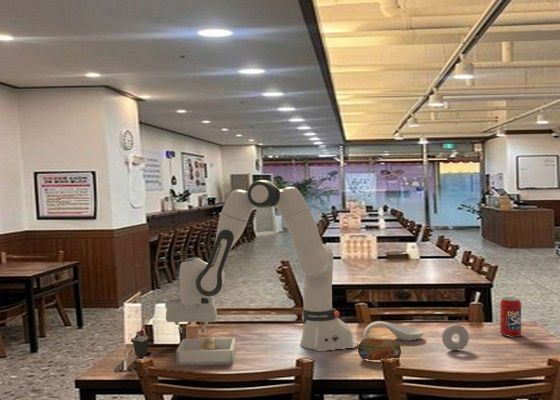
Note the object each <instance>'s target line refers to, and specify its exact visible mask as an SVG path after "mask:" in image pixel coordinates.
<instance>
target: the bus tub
mask: <svg viewBox="0 0 560 400" xmlns="http://www.w3.org/2000/svg"><path fill="white" fill-rule="evenodd" d="M215 338H216V350H201V339H202V337H201V338H200V337H199V338H195V339H186V338H182V340H181V342H180V344H179V346H178V347H177V349H176V350H175V361H176V362H175V363H176V365H175V366H176V367H177V366H179V367H181V366H211V365H212V366H215V365H217V366H219V365H222V366H223V365H234V360H235V356H236V353H237V352H236V351H237V345H236V343H237V340H236V337H215Z"/></svg>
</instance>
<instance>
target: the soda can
mask: <svg viewBox="0 0 560 400" xmlns="http://www.w3.org/2000/svg"><path fill="white" fill-rule="evenodd" d="M499 306H500V307H499V310H500V311H499V314H500V319H499V321H500V323H499V324H500V325H499V328H500V334H501V333H502V334H501V335H503V334H505V335H509V336H518V335H520V336H521V335H522V302H521V301H520V298H519V297H514V296H503V297H502V298H501V301H500V302H499ZM518 337H519V336H518Z"/></svg>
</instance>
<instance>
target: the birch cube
mask: <svg viewBox="0 0 560 400" xmlns="http://www.w3.org/2000/svg"><path fill="white" fill-rule="evenodd" d="M201 338H202V339H201V350H216V338H217V337H216V336H202V337H201Z"/></svg>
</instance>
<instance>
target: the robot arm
mask: <svg viewBox="0 0 560 400" xmlns="http://www.w3.org/2000/svg"><path fill="white" fill-rule="evenodd" d="M223 204H224V205H223V207H222V210H221V211H220V215H219V218H218V223H217V229H216V235H215V240H214V245H213V246H212V247H213V248H212V249H211V250H212V251H211V253H210V256H209V258H208V260H207V262H206V261H204V260H203V259H201V258H200V257H197V256H196V257H188V258H186V259H184V260H182V262H181V263H180V265H179V283H180V288H179V297H178V298H177V297H175V298H168V299H166V301H165V302H164V305H165V309H166V312H165V320H166V322H167V323H174V325H175V324H176V325H179V324H180V323H188V322H189V323H195V322H196V323H198V322H199V323H200V322H201V323H202V322H203V324H204V326H203V327H201V333H203V334H205V333H206V328H207V326H208V325H209V322H216V320H217V318H218V312H217V307H216V303H215V302H214V296H216V295H218V294H219V293H220V292H221V290H222V287H223V285H224V283H225V281H226V273H225V270H224V268H225V265H226V262H227V259H228V256H229V254H230V251H231V250H232V248H233V247H234V245H235V244H236V243H237V241H238V240H239V239H240V238H241V236H242V234H243V232H244V231H245V228H246V227H247V225H248V221H249V218H250V216H251V213H252V211H253V210H254V209H256V208H259V209H269V208H272V207H274V208H276V209H277V210H278V212H279V213H280V215H281V218H282V220H283V222H284V225H285V227H286V229H287V231H288V233H289V235H290V239H291V240H292V244H293V248H294V251H295V254H296V257H297V260H298V263H299V264H298V265H299V268H300V270H301V272H302V273H303V274H304V283H303V291H302V292H303V295H302V297H303V308H302V312H301V313H302V316H301V318H302V323H303V327H302V334H301V340H300V342H299V345H300V346H301V347H303V348H305V349H309V350H314V351H316V352H328V351H327V350H332V351H336V350H335V349H343V348H352V347H356V346H357V345H358V346H359V340H358V339H357V338H355V337H354V336H353V334H352V333H353V332H352V329H351V327H350V326H349V325H348V324H347V323H345V322H344V321H343V320H341V319H340V318H339V317H340V311H338V310H337V309H336V308H334V307H333V289H332V286H333V275H334V274H333V273H334V253H333V251H332V249H331V247H330V246H328V245H327V244H325V243H323V241H322V239H321V236H320V233H319V229H318V225H317V223H316V221H315V219H314V216H313V214H312V212H311V209H310V208H309V205H308V203H307V202H306V200H305V198H304V196H303V195H302V194H301V192H300V191H299V189H298V188H297V187H294V186H287V187H284V188H279V187H278V186H277V184H276V183H274V182H272V181H270V180H266V179H259V180H256V181H254V182H252V183H251V184H250V185H249V188H248V190H243V189H234V190H233V191H231V192H230V194H229V195H228V197H227V199H226V201H225V203H223ZM178 329H179V333H178V334H180V333H181V334H182V333H183V327H180V328H179V327H178ZM178 329H177V330H178ZM343 350H344V349H343Z"/></svg>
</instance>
